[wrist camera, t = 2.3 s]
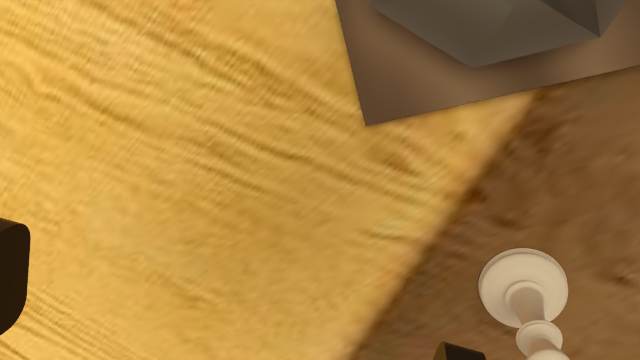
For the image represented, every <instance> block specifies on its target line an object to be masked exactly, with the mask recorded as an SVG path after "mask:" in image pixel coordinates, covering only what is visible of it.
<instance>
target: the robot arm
mask: <svg viewBox="0 0 640 360" xmlns="http://www.w3.org/2000/svg"><path fill="white" fill-rule="evenodd" d="M29 253H30V232H29V229H28V227H27V226H26V225H24V224H21V223H18V222H14V221H10V220H7V219H3V218H0V335H2V334H3V333H4V332H6V331H7V330H8V329H9V328H11V327H12V326H13V324H14V323H15V322H16V321H17V319H18V318H19V316H20V314H21V312H22V310H23V308H24V305H25V302H26V296H27V283H28V268H29ZM433 360H486V358H485V355H484V353H482V352H478V351H475V350H471V349H468V348H464V347H460V346H457V345H453V344H450V343H446V342H441V343H440V344H439V346H438V348H437V350H436V353H435V356H434V359H433Z"/></svg>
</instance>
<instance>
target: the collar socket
mask: <svg viewBox="0 0 640 360" xmlns="http://www.w3.org/2000/svg"><path fill="white" fill-rule="evenodd" d="M335 1H336V5H337V9H338V13H339V18H340V22H341V26H342V30H343V34H344V38H345V42H346V47H347V51H348V55H349V59H350V63H351V67H352V71H353V76H354V80H355V84H356V88H357V92H358V96H359V100H360V105H361V109H362V113H363V117H364V121H365V125H366V126H369V125H374V124H378V123H383V122H387V121H392V120H396V119H401V118H405V117H410V116H414V115H419V114H423V113H428V112H432V111H436V110H441V109H445V108H450V107H454V106H459V105H463V104H468V103H472V102H477V101H481V100H486V99H490V98H495V97H499V96H504V95H508V94H513V93H517V92H522V91H526V90H530V89H535V88H539V87H544V86H548V85H553V84H557V83H562V82H566V81H571V80H575V79H580V78H584V77H589V76H593V75H598V74H602V73H607V72H611V71H616V70H620V69H624V68H629V67H633V66H638V65H640V0H335Z"/></svg>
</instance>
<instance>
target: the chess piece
mask: <svg viewBox="0 0 640 360" xmlns="http://www.w3.org/2000/svg"><path fill="white" fill-rule="evenodd" d="M478 289H479V295H480V298H481V300H482V302H483V304H484V306H485V308H486V310H487V311H488V312H489V313H490V314H491V315H492V316H493V317H494V318H495V319H496V320H498V321H499V322H501V323H503V324H505V325H508V326H511V327H515V328H519V330H518V332H517V335H516V343H517V346H518V347H519V349H520V350H521V351H522V352H523V353H524V354H525V355H526V356H527V358H526V360H570V359H569V358H568V357H567V356H566V354H564V353H563V352H562V351H561V350H560V349H561V346H562V341H563V339H562V334H561V332H560V330H559V329H558V328H557V327H556V326H555V325H554V324H553V323H551V322H550V321H552V320H553V319H554V318H556V317H557V316H558V315H559V314H560V312H561V311H562V310H563V308H564V306H565V304H566V302H567V298H568V284H567V278H566V275H565V273H564V270H563V269H562V267H561V266H560V264H559V263H558V262H557V261H556V260H555V259H553V258H552V257H551V256H549V255H548V254H546V253H544V252H541V251H539V250H535V249H530V248H515V249H510V250H507V251H504V252H502V253H500V254H498V255H496V256H495V257H493V258H492V259H491V260H490V261H489V262H488V263H487V264H486V265H485V267H484V268H483V270H482V272H481V274H480V277H479V283H478Z"/></svg>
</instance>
